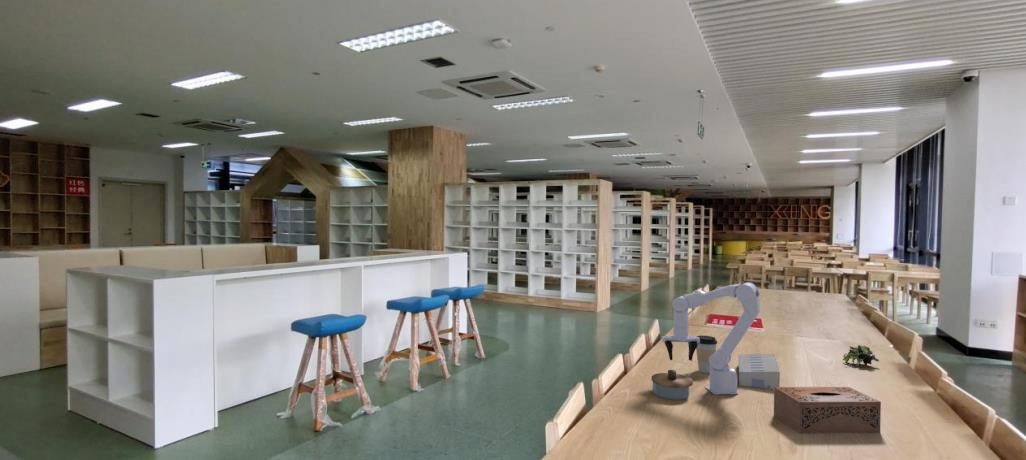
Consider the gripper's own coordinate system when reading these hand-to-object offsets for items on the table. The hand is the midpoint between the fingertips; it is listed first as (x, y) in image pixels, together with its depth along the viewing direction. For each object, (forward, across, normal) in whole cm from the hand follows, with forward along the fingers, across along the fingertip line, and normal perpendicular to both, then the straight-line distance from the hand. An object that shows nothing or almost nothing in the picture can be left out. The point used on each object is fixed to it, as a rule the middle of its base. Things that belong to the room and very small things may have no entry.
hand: (680, 359), depth 202 cm
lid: (+5, -6, -12) cm, 15 cm away
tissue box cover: (+10, +37, -37) cm, 53 cm away
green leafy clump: (+10, +90, +35) cm, 98 cm away
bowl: (+10, -7, -12) cm, 17 cm away
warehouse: (+10, +36, +13) cm, 39 cm away
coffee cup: (+10, +16, +19) cm, 27 cm away
